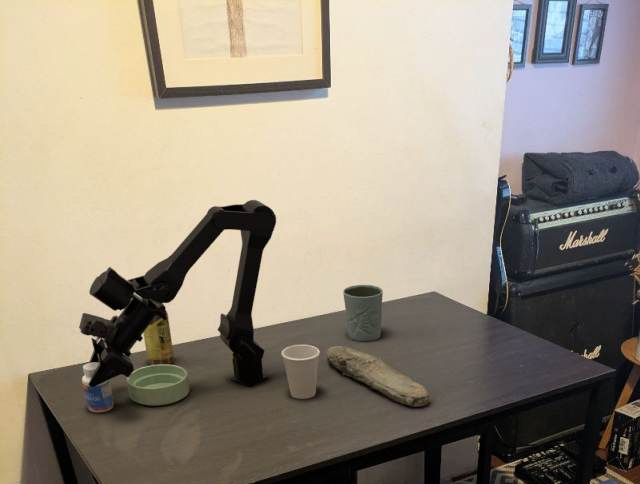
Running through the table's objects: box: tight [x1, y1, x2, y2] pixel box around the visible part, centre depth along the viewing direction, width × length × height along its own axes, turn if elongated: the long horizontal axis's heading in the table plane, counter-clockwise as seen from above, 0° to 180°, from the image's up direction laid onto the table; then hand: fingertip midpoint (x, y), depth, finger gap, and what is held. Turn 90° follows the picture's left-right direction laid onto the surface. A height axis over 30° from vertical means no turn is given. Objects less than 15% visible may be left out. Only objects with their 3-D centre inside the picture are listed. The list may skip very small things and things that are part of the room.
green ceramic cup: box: [342, 284, 384, 342], centre depth 200 cm, size 10×10×12 cm
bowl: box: [126, 364, 191, 407], centre depth 172 cm, size 13×13×4 cm
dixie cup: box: [281, 344, 321, 400], centre depth 171 cm, size 8×8×10 cm
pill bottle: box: [81, 362, 115, 413], centre depth 165 cm, size 6×5×10 cm
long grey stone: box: [326, 345, 430, 408], centre depth 178 cm, size 35×5×10 cm
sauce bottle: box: [142, 299, 174, 366], centre depth 182 cm, size 7×6×20 cm
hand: (88, 380), depth 163 cm, fingers closed on pill bottle, 5 cm apart
